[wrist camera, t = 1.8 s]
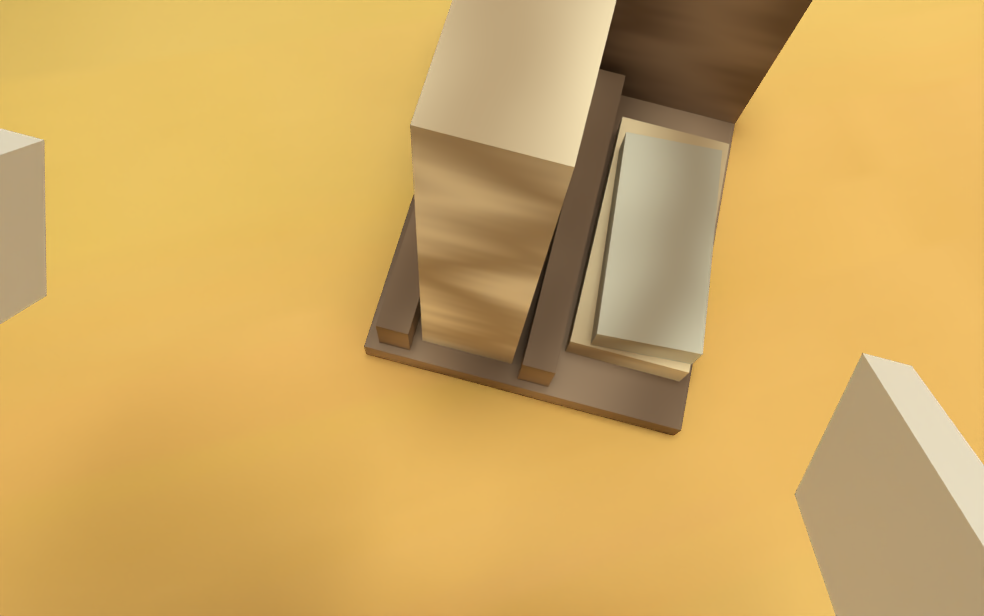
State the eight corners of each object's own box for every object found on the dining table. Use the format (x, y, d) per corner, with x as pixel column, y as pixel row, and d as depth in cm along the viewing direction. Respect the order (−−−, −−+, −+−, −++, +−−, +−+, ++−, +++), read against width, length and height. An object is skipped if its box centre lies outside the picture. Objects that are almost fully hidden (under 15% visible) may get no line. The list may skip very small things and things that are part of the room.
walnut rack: (366, 353, 32) (340, 264, 23) (467, 41, 37) (476, -125, 28) (673, 435, 31) (761, 375, 23) (731, 108, 36) (820, -40, 28)
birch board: (422, 340, 31) (410, 125, 17) (499, 84, 35) (541, -264, 21) (511, 364, 31) (574, 167, 17) (578, 104, 35) (674, -231, 21)
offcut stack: (565, 351, 31) (576, 330, 29) (615, 133, 34) (629, 98, 32) (680, 381, 31) (701, 363, 29) (719, 160, 34) (741, 127, 32)
